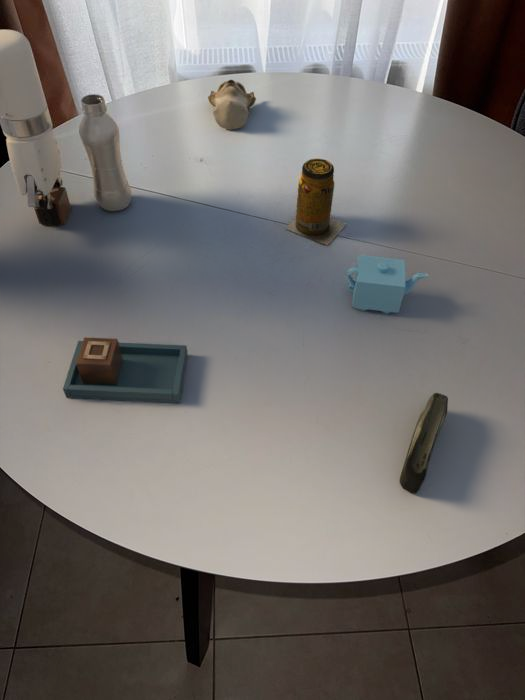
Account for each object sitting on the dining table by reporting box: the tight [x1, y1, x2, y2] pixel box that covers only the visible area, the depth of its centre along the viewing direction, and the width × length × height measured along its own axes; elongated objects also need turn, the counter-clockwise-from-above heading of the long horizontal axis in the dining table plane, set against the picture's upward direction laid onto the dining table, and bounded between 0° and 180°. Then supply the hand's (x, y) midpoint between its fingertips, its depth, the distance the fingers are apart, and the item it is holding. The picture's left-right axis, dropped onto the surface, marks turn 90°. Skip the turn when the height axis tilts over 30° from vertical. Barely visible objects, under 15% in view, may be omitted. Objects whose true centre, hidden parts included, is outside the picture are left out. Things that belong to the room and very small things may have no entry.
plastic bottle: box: [78, 93, 132, 212], centre depth 99 cm, size 6×7×20 cm
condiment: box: [285, 158, 347, 246], centre depth 99 cm, size 7×8×12 cm
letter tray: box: [62, 340, 189, 404], centre depth 81 cm, size 16×9×2 cm, turn 88°
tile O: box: [76, 336, 123, 385], centre depth 80 cm, size 5×5×5 cm
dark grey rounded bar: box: [399, 392, 449, 495], centre depth 74 cm, size 5×3×15 cm
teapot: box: [346, 254, 429, 315], centre depth 89 cm, size 12×6×8 cm, turn 81°
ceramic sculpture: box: [207, 79, 257, 131], centre depth 125 cm, size 11×9×15 cm
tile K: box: [33, 186, 72, 225], centre depth 103 cm, size 5×5×5 cm
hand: (55, 214), depth 104 cm, fingers closed on tile K, 4 cm apart
